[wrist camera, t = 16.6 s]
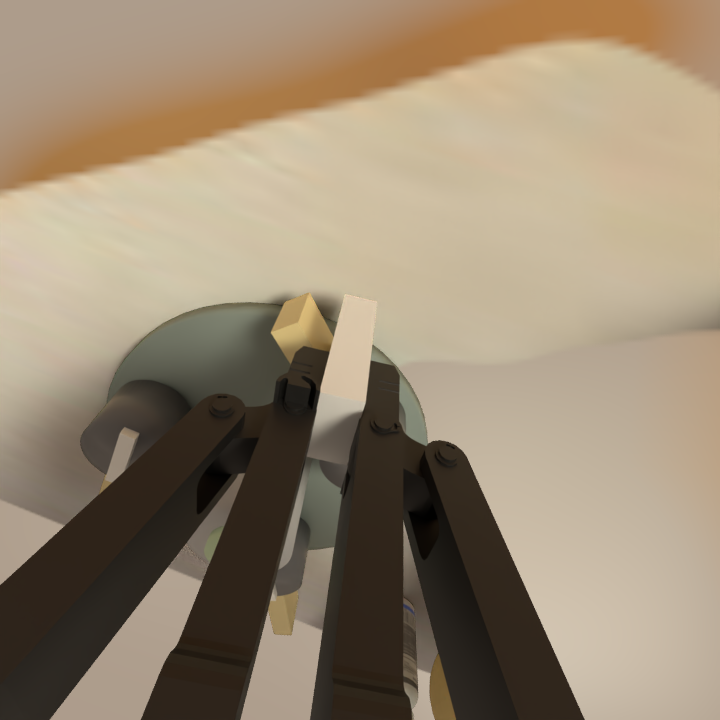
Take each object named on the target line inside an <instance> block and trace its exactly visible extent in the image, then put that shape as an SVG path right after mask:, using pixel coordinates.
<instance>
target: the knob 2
mask: <svg viewBox="0 0 720 720" xmlns="http://www.w3.org/2000/svg"><path fill="white" fill-rule="evenodd" d="M310 535H311V531H310V528H309V526H308V524H307V523H306V522H305V521H304V520H303V519H302V518H301V517H300V519H299V524H298V529H297V533H296V538H295V543H294V548H293V552H292V556H291V559H290V560H289V562H288V563H287V564H286V565H285V566H284V567H282V568H281V569H279V570H278V572H277V576H276V580H275V584H274V588H273V592H272V596H271V600H270V604H269V608H268V611H269V615H270V619H271V623H272V628H273V632H274V634H278V635H292V630H293V624H294V619H295V613H296V608H297V602H298V592H297V590H298V589H299V588H300V586H301V584H302V579H303V573H304V568H305V562H306V557H307V551H308V546H309V540H310Z"/></svg>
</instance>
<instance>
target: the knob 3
mask: <svg viewBox="0 0 720 720" xmlns="http://www.w3.org/2000/svg"><path fill="white" fill-rule="evenodd" d="M271 334H272V335H273V337H274V339H275V340H276V342H277V343H278V345H279V347H280V348H281V350H282V351H283V353H284V355H285V356H286V358H287V360H288V361H289V363H290V364H291V363H292V360H293V357H294V355H295V352H296V351H298V350H299V349H300V348H302V347H303V346H306V347H311V348H315V349H319V350H324V351H328V352H330V350H331V346H332V342H333V338H334V337H333V335H332V333H331V332H330V330H329V328H328V326H327V324H326V322H325V320H324V319H323V317H322V315H321V313H320V311H319V309H318V307H317V306H316V304H315V302H314V300H313V298H312V296H311V294H310V293H307V294H304V295H302V296H299V297H296V298H294V299H291V300H289V301H286V302H285V303H284V305H283V307H282V309H281V311H280V313H279V316H278V318H277V320H276V322H275V324H274V326H273V329H272V331H271ZM399 422H400V423H401V425H402V428H403V431H404V432H405V434H406V414H405V410H404V408H403V406H402V404H401V403H400V402H399ZM348 461H349V460H348ZM319 464H320V468H321V471H322V473H323V474H324V476H325V477H326V478H327V479H328V480H329V481H330V482H331V483H332V484H334V485H335V486H337V487H339V488H342V484H343V481H344V478H345V474H346V471H347V467H348V464H347V465H342V464H338V463H333V462H328V461H324V460H319Z"/></svg>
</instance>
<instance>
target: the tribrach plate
mask: <svg viewBox="0 0 720 720" xmlns="http://www.w3.org/2000/svg"><path fill="white" fill-rule="evenodd" d="M282 307H283V306H280V305H275V304H264V303H251V302H248V303H225V304H219V305H214V306H208V307H203V308H199V309H196V310H193V311H190V312H187V313H183V314H181V315H179V316H177V317H175V318H173V319H171V320H169V321H167V322H165V323H163V324H162V325H161V326H159V327H158V328H156V329H155V330H153V331H152V332H151V333H149V334H148V335H147V336H146V337H145V338H144V339H143V340H142V341H141V342H140V343H139V344H138V345H137V346H136V347H135V349H134V350H133V351H132V352H131V353H130V354H129V355H128V356H127V357H126V358H125V360H124V361H123V363H122V364H121V366H120V367H119V369H118V370H117V372H116V373H115V376H114V378H113V381H112V383H111V386H110V388H109V394H108V399H107V403H108V402H109V401H110V400H111V399H112V398H113V396H114V395H115V394H116V393H117V392H118V390H119V389H120V388H121V387H122V386H123V385H125V384H126V383H128V382H131V381H134V380H151V381H156V382H159V383H162V384H164V385H167V386H169V387H170V388H172V389H174V390H175V391H176V392H178V393H179V394H180V395H181V396H182V397H183V398H184V399H185V400H186V402H187V403H188V405H189V407H190V409H191V410H192V409H193V408H194V407H195V406H196V405H197V404H198V403H199V402H200V401H201V400H203V399H204V398H206V397H207V396H210V395H214V394H230V395H234V396H236V397H237V398H239V399H241V400H242V402H243V403H244V404H245V407H256V406H264V405H267V404H270V403H271V402H273V400H274V392H275V385H276V380H277V379H278V378H279V377H280V376H281V375H283V374H285V373H288V370H289V368H290V365H291V364H290V363H289V361H288V360H287V358H286V356H285V355H284V353H283V351H282V350H281V348H280V347H279V345H278V343H277V342H276V340H275V339H274V337H273V335H272V334H271V331H272V329H273V326H274V324H275V322H276V320H277V318H278V316H279V313H280V311H281V309H282ZM323 319H324V320H325V322H326V324H327V326H328V328H329V330H330V332H331V333H332V335H333V337H334V334H335V330H336V326H337V323H335V322H333V321H331V320H329V319H327V318H324V317H323ZM371 361H376V362H380V363H384V364H389V365H393V366H395V368H396V369H397V371H398V373H399V375H400V385H399V386H400V392H399V402H400V403H401V404H402V406H403V408H404V410H405V414H406V434H407V435H408V436H409V437H410V438H412V439H413V440H415V441H417V442H419V443H421V444H423V445H425V446H427V444H428V440H427V430H426V424H425V418H424V414H423V411H422V408H421V405H420V403H419V400H418V398H417V396H416V394H415V392H414V391H413V389H412V387H411V385H410V383H409V382H408V381H407V379H406V378H405V377H404V375H403V374H402V373H401V371H400V370H399V369H398V367H397V366H396V365H395V364H394V363H393V362H392V361H391V360H390V359H389V358H388V357H387V356H386V355H385V354H384V353H383V352H381V351H380V350H379V349H378V348H376V347H375V346H374V345H372V352H371ZM244 475H245V473H241V474H238V476H237V478H236V480H235V481H234V482H233V483H232V485H231V486H230V487H229V489H228V490H227V491H226V492H225V494H224V495H223V496H222V498H221V499H220V500H219V501H218V503H217V504H216V505H215V507H214V508H213V509H212V511H211V512H210V513H209V514H208V516H207V517H206V518H205V520H204V521H203V522H202V523H201V525H200V526H199V527H198V529H197V530H196V531H195V532H194V534H193V535H192V536H191V538H190V539H189V540H188V542H187V544H188V546H189V548H190V549H191V550H192V551H193V553H194V554H195V555H197V556H198V557H199V558H200V559H202V560H203V561H204V562H206V563H208V564H210V561H211V559H212V556H213V554H214V551H215V549H216V546H217V543H218V541H219V538H220V536H221V533H222V531H223V528H224V526H225V523H226V521H227V518H228V515H229V513H230V510H231V508H232V505H233V503H234V500H235V498H236V495H237V493H238V490H239V488H240V485H241V482H242V480H243V477H244ZM340 491H341V488H339V487H337V486H335V485H334V484H332V483H331V482H330V481H329V480H328V479H327V478H326V477H325V476H324V474H323V473H322V471H321V468H320V464H319V459H315V458H310V457H306V461H305V465H304V470H303V474H302V478H301V482H300V486H299V490H298V494H297V498H296V502H295V505H294V509H293V513H292V517H291V521H290V525H289V529H288V533H287V537H286V541H285V545H284V549H283V553H282V557H281V561H280V565H279V569H281V568H282V567H284V566H285V565H286V564H287V563H288V562H289V560H290V559H291V556H292V552H293V548H294V543H295V538H296V533H297V529H298V524H299V519H300V517H301V518H302V519H303V520H304V521H305V522H306V523H307V524H308V526H309V528H310V531H311V535H310V540H309V546H308V550H314V549H323V548H330V547H335V540H336V533H337V526H338V519H339V512H340V505H341V498H342V494H340ZM279 569H278V570H279Z"/></svg>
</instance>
